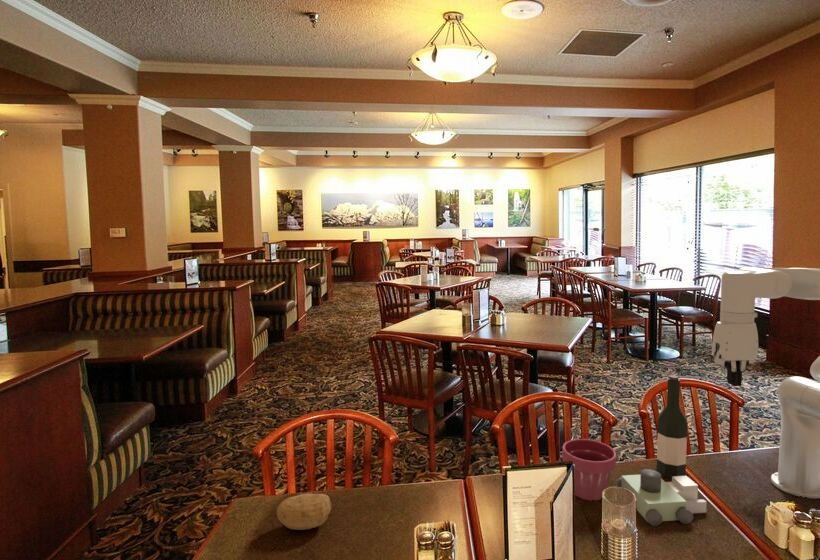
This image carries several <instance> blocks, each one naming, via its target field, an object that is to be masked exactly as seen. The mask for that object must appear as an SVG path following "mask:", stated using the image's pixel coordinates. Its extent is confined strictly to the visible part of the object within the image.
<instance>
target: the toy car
mask: <svg viewBox="0 0 820 560" xmlns="http://www.w3.org/2000/svg"><path fill="white" fill-rule="evenodd" d="M666 482H667V481H665V480H664V479H663V478H662V475H661V474H660V473H659V472H657V470H654V469H649V468H644V469H642V470H641V471H640V474H626V475H621V476H620V477H618V478H617V479H616V481H615V486H616V487H617V486H618V487H623V488H626V489H628V490H630V491H632V492H633V493H634V494H635V496H636V499H637V509H636V510H637V512H638V513H639V514H640V515H641V516H642V517H643V518H644V520H645V521H646V522H647V523H649V525H651V526H652V527H658V526H660V525H661V524H662V522H669V521H679V522H681V523H682V524H684V525H688V524H689V523H692V521H693V519H694V514H706V513H707V504H708V502H707V501H706V500H705V499H697V500H684V499H683V498H682V497H681V496H680V495H679V494H678V493H677V492H676V491H675V490H673V489H672V488H671V487H670V486H669V485H668V484H667V483H666ZM618 487H617V488H618Z"/></svg>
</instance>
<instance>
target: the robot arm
mask: <svg viewBox="0 0 820 560" xmlns="http://www.w3.org/2000/svg"><path fill="white" fill-rule="evenodd" d="M720 285H721V288H720V309H719V311H720V312H719V321H717V322H716V324H715V327H714V331H713V336H712V344H711V356H713V357H714V363H715V364H716V365H720V366H722V367H724V369H726V380H727V384H729V385H731V386H733V387H742V381H743V372H744V371H745V370H746V367H747V366H748V365H751V364H754V363H756V361H757V359H756V358H758V354H759V334H758V328H757V324H756V322H755V318H758V313H757V312H755V311H756V309H755V308H756V306H755V305H756V299H757V298H759V299H770V300H771V299H772V300H773V299H780V298H782V297H787V298H792V299H798V300H799V299H800V300H808V301H820V268H815V267H814V268H811V267H810V268H809V267H808V268H807V267H788V268H787V267H786V268H785V267H763V266H761V267H760V266H755V267H754V266H743V267H739V268H737V269H736V270H727V271H724V272H723V273H722V275H721V284H720ZM809 373H810V375H811V376H812V378H813V379H812V378H807V377H804V376H799V375H797V376H796V375H795V376H793V375H792V376H789V377H786V378H785V379H783V380H782V381H781V383H780V384H779V386H778V390H777V395H778V396H777V397H778V402H779V407H780V432H779V434H780V435H779V447H778V448H779V450H778V467H777V472H774V473H772V474H771V475H770V481H771V483H772V484H773V485H774V486H775V487H776V488H777V489H779V490H781V491H783V492H785V493H787V494H790V495H793V496H797V497H800V496H802V497H801V498H805V497H807V498H806V499H820V355H819V356H818V357H817V358H816V359H815V360H814V361H813V362H812V364H811V366H810V369H809Z"/></svg>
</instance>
